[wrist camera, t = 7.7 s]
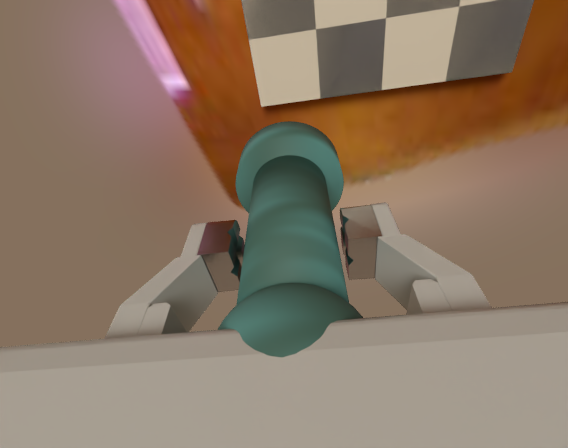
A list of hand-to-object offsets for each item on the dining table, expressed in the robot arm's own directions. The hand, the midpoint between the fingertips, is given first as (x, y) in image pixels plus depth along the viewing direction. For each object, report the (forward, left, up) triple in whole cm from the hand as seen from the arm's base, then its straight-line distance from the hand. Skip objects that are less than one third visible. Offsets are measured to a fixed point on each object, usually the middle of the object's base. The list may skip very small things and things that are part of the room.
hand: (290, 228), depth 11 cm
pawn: (0, 0, -4) cm, 4 cm away
